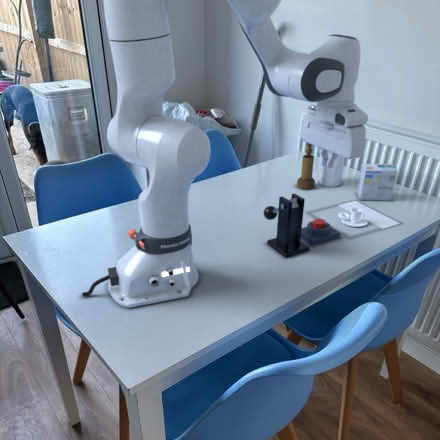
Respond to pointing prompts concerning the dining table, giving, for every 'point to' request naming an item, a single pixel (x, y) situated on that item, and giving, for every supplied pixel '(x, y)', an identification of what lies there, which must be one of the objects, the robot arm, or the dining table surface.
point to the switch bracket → (289, 228)
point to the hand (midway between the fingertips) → (326, 166)
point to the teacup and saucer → (355, 215)
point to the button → (319, 223)
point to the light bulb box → (377, 181)
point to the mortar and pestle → (307, 170)
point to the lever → (272, 212)
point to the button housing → (318, 234)
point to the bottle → (332, 172)
